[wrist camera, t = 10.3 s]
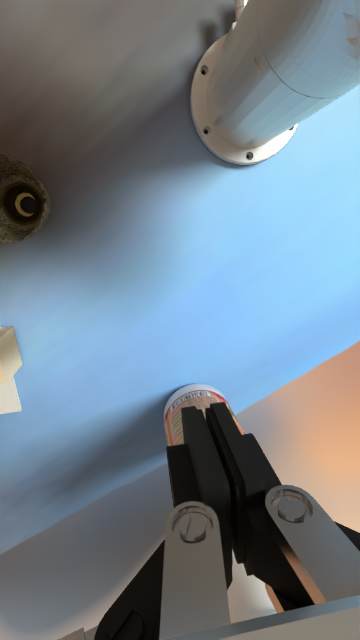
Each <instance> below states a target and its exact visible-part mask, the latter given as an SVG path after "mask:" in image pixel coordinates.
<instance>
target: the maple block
mask: <svg viewBox="0 0 360 640" xmlns="http://www.w3.org/2000/svg"><path fill="white" fill-rule="evenodd" d="M21 365H22V360H21V356H20V352H19V348H18V344H17V339H16V335H15V331H14V327H13V326H12V327H2V328H0V384H3V383H8V381H9V380H10V379H11V378H12V376H13V375H14V374H15V373H16V372H17V370H18V369H19V368H20V367H21Z"/></svg>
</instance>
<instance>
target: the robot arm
mask: <svg viewBox="0 0 360 640" xmlns="http://www.w3.org/2000/svg"><path fill="white" fill-rule="evenodd" d="M235 13H236V22H234V23H233V24H232V26H231V28H230V30H229V32H228V33H227V34H225V35H223V36H222V37H220V38H219V39H218V40H216V41H215V42H214V43H213V44H212V45H211V46H210V47H209V48H208V50H207V51H206V52H205V53H204V55H203V57H202V59H201V60H200V62H199V64H198V66H197V69H196V71H195V74H194V78H193V81H192V85H191V93H190V107H191V114H192V119H193V123H194V126H195V128H196V131H197V133H198V135H199V137H200V138H201V140H202V141H203V143H204V144H205V146H206V147H207V148H208V149H209V150H210V151H211V152H212V153H213V154H215V155H216V156H218V157H219V158H220V159H222V160H225V161H227V162H229V163H233V164H237V165H251V164H256V163H260V162H262V161H264V160H267V159H269V158H270V157H272V156H274V155H275V154H277V153H278V152H279V151H280V150H281V149H282V148H284V147H285V145H286V144H287V143H288V142H289V140H290V139H291V138H292V136H293V134H294V133H295V131H296V129H297V127H298V124H299V123H300V122H301V121H303V120H304V119H306V118H307V117H309V116H311V115H312V114H314V113H315V112H317V111H319V110H320V109H322V108H323V107H325V106H327V105H328V104H330V103H331V102H333V101H334V100H336V99H338V98H339V97H341V96H342V95H344V94H346V93H347V92H349V91H350V90H352V89H353V88H355V87H356V86H358V85H359V84H360V0H235ZM202 71H203V72H204V73H205V75H202V73H201V72H202ZM204 130H206V131H207V134H204ZM246 155H248V156H249V159H247V158H246ZM181 415H182V427H183V438H184V444H179V445H172V446H166V449H167V459H168V467H169V476H170V484H171V492H172V499H173V506H174V509H173V510H172V511H171V513H170V514H169V516H168V518H167V522H166V532H165V540H164V541H163V542H162V543H161V545H160V546H159V547H158V548H157V550H156V551H155V552H154V553H153V555H152V556H151V557H150V558H149V560H148V561H147V562H146V563H145V565H144V566H143V567H142V568H141V570H140V571H139V572H138V573H137V575H136V576H135V577H134V578H133V580H132V581H131V582H130V583H129V585H128V586H127V587H126V588H125V590H124V591H123V592H122V594H121V595H120V596H119V597H118V598H117V600H116V601H115V602H114V604H113V605H112V606H111V607H110V608H109V610H108V611H107V612H106V613H105V615H104V617H103V618H102V620H101V621H100V623H99V625H98V626H96V627H94V628H92V629H90V630H88V631H86V632H84V628H81V629H79V630H77V631H75V632H73V633H71V634H68V635H66V636H64V637H62V638H60V639H58V640H360V533H358V532H356V531H354V530H352V529H350V528H348V527H345V526H343V525H341V524H339V523H337V522H334V521H333V520H332V519H331V518H330V517H329V516H328V514H327V513H326V512H325V511H324V510H323V508H322V507H321V506H320V505H319V504H318V503H317V502H316V500H315V499H314V498H313V497H312V496H311V495H310V494H309V493H308V492H306V491H304V490H303V489H301V488H298V487H295V486H292V485H282V484H281V482H280V481H279V479H278V477H277V475H276V474H275V472H274V470H273V468H272V467H271V465H270V463H269V461H268V460H267V458H266V456H265V454H264V453H263V451H262V449H261V447H260V446H259V444H258V442H257V440H256V439H255V437H254V436H253V434H251V433H249V434H243V435H242V434H241V432H240V431H239V429H238V427H237V425H236V423H235V421H234V419H233V417H232V415H231V413H230V411H229V409H228V407H227V405H226V403H225V402H218V403H211V404H210V408H205V417H204V414H203V411H202V409H196V406H190V407H183V408H181ZM205 418H206V420H205ZM232 549H233V552H234V556H235V559H236V562H237V564H242V563H243V565H244V568H245V571H246V574H247V576H250V575H254V576H255V577H256V578H258V579H259V580H261V581H263V582H264V583H265V588H266V591H267V594H268V596H269V598H270V600H271V602H272V604H273V606H274V608H275V610H276V612H277V613H276V614H272V615H267V616H263V617H258V618H254V619H250V620H245V621H241V622H236V623H232V624H231V621H230V612H229V604H228V595H227V590H228V588H229V587H230V585H231V583H232V581H233V578H232V565H233V556H232Z"/></svg>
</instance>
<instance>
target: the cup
mask: <svg viewBox="0 0 360 640" xmlns="http://www.w3.org/2000/svg"><path fill="white" fill-rule="evenodd" d="M26 197H29V198H32V199H33V200H34V201H35V203H36V210H35V211H34V212H32V213H27V212H25V211H24V210H23V209H22V208H21V201H22V199H23V198H26ZM50 212H51V202H50V197H49V194H48V192H47V190H46V188H45V186H44V185H43V183H42V182H41V181H40V179H39V178H38V177H37V176H36V175H35V174H34V173H33V171H32V170H31V169H30V168H29V167H28V166H27V165H25V164H24V163H22V162H20V161H18V160H17V159H16V158H14V157H13V156H11V155H8V156H7V157H6V156H4V155H2V154H0V242H1V243H15V242H18V241H21V240H23V239H27V238H29V237H30V236H32V235H34V234H35V233H37V232H38V231H40V230H41V229H42V228H43V227H44V226H45V224H46V223H47V221H48V219H49V216H50Z"/></svg>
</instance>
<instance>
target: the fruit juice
mask: <svg viewBox="0 0 360 640" xmlns="http://www.w3.org/2000/svg"><path fill="white" fill-rule="evenodd" d="M218 402H225V403H226V405H227V407H228V409H229V411H230V413H231V415H232V417H233V419H234V421H235V423H236V425H237V427H238V429H239V431H240V432H241V434H242V435H243V434H244V432H243V430H242V428H241V426H240V425H239V423H238V421H237V419H236V417H235V415H234V413H233V411H232V410H231V408H230V406H229V404H228V402H227V400H226V399H225V397H224V396H223V395H222V393H221V392H220V391H218V390H217V389H216V388H214V387H212V386H210V385H206V384H190V385H187V386H184V387H182V388H180V389H179V390H177V391H176V392H175V393H174V394H173V395H172V396H171V397H170V398H169V400H168V401H167V403H166V406H165V409H164V417H163V419H164V427H165V434H166V440H167V446H172V445H179V444H184V438H183V427H182V415H181V408H183V407H190V406H196V409H202V411H203V414H204V417H205V408H210V404H211V403H218ZM205 420H206V418H205ZM232 556H233V565H232V578H233V581H232V583H231V585H230V587H229V588H228V590H227V595H228V604H229V612H230V621H231V624H232V623H236V622H241V621H245V620H250V619H254V618H258V617H263V616H267V615H272V614H276V613H277V612H276V610H275V608H274V606H273V604H272V602H271V600H270V598H269V596H268V594H267V591H266V588H265V583H264V582H263V581H261V580H259V579H258V578H256V577H255V576H254V575H250V576H247V574H246V571H245V568H244V565H243V563H242V564H237V562H236V559H235V556H234V552H233V549H232Z"/></svg>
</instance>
